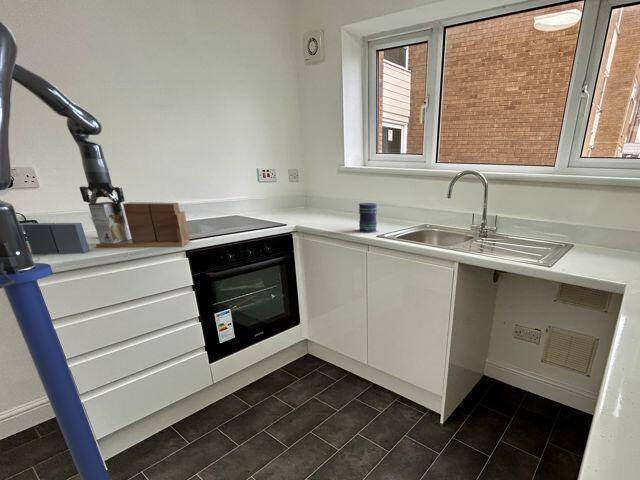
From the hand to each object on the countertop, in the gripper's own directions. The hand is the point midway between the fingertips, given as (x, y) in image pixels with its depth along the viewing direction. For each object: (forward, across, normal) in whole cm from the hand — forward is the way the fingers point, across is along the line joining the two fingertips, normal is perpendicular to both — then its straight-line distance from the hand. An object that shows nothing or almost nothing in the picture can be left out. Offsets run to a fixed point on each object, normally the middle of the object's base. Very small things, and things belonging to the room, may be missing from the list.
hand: (107, 212), depth 145 cm
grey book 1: (+14, -18, -12) cm, 25 cm away
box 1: (+12, +12, 0) cm, 17 cm away
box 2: (+12, +22, 0) cm, 25 cm away
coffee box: (+12, 0, 0) cm, 12 cm away
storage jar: (+14, +113, +26) cm, 117 cm away
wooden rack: (+13, +11, 0) cm, 17 cm away
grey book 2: (+14, -9, -12) cm, 20 cm away
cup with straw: (+14, -12, +17) cm, 25 cm away
